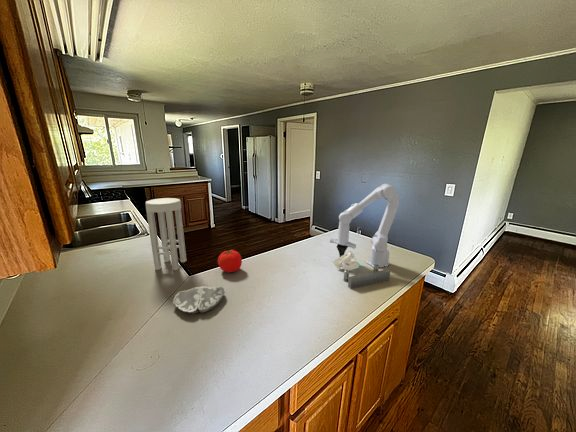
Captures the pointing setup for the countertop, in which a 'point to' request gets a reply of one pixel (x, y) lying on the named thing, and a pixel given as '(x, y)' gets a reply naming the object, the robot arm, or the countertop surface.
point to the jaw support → (347, 261)
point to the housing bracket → (366, 277)
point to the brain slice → (198, 299)
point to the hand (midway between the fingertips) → (341, 257)
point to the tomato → (230, 261)
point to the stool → (168, 207)
